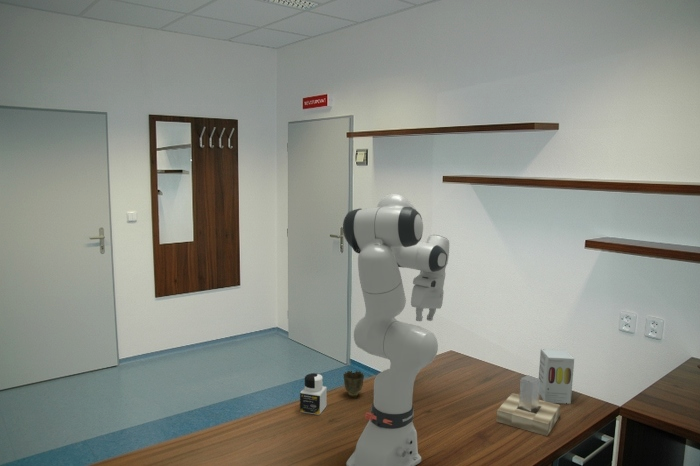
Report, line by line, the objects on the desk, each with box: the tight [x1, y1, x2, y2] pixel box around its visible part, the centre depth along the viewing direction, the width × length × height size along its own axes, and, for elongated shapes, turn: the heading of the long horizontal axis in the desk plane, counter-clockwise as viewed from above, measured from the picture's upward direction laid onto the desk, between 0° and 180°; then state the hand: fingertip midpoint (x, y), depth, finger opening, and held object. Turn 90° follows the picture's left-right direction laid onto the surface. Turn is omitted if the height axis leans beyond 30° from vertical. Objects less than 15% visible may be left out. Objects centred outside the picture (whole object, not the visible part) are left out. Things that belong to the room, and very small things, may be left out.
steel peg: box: [519, 374, 540, 414], centre depth 173 cm, size 4×4×14 cm
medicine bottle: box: [299, 372, 328, 416], centre depth 178 cm, size 7×7×12 cm
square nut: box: [496, 392, 561, 437], centre depth 174 cm, size 16×16×4 cm
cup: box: [343, 370, 365, 398], centre depth 189 cm, size 8×7×8 cm
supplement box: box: [538, 348, 575, 405], centre depth 189 cm, size 10×9×17 cm
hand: (424, 320), depth 183 cm, fingers open, 8 cm apart
